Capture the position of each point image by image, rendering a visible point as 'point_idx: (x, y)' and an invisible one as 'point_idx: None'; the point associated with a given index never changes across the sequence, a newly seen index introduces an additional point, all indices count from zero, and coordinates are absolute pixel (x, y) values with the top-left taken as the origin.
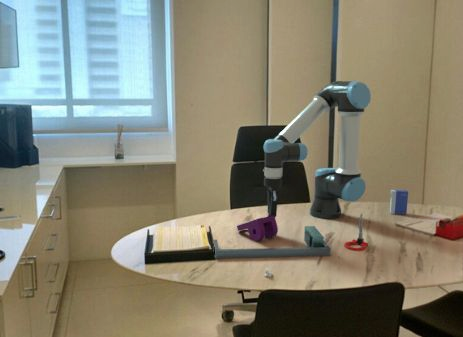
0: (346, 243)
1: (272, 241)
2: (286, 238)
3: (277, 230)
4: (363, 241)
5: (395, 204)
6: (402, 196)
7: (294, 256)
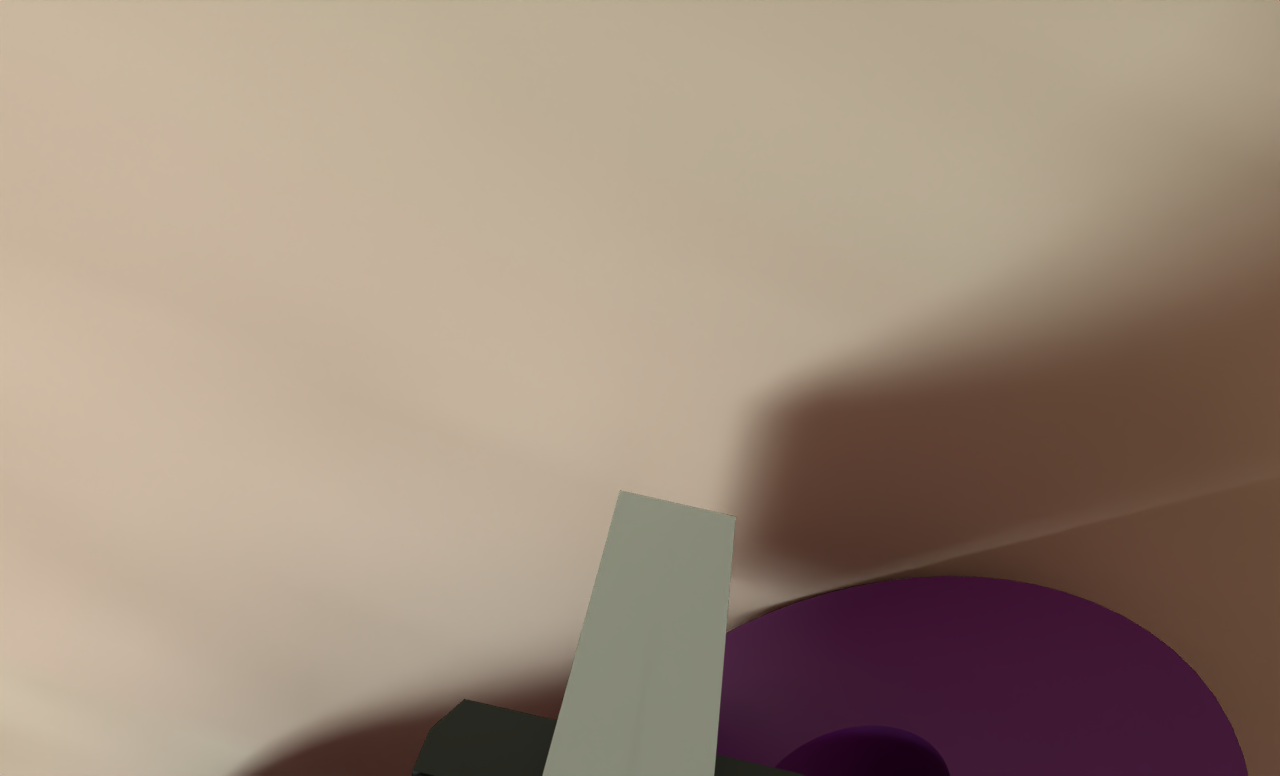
0: None
1: (1257, 714)
2: (1195, 220)
3: (1228, 721)
4: None
5: None
6: None
7: None
